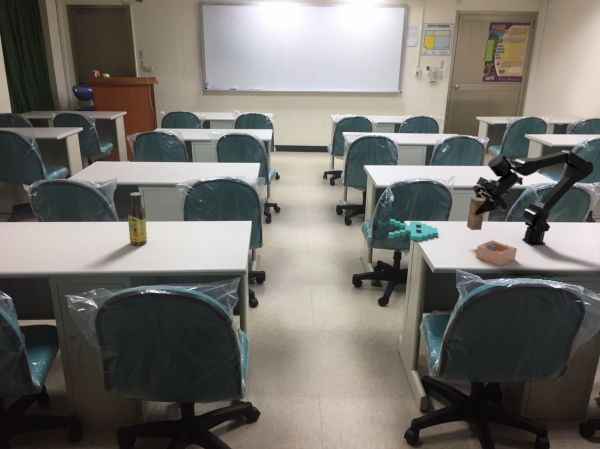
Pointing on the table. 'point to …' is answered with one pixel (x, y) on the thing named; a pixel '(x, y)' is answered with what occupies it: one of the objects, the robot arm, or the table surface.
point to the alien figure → (413, 230)
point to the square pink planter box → (496, 252)
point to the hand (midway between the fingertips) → (473, 212)
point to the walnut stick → (474, 219)
